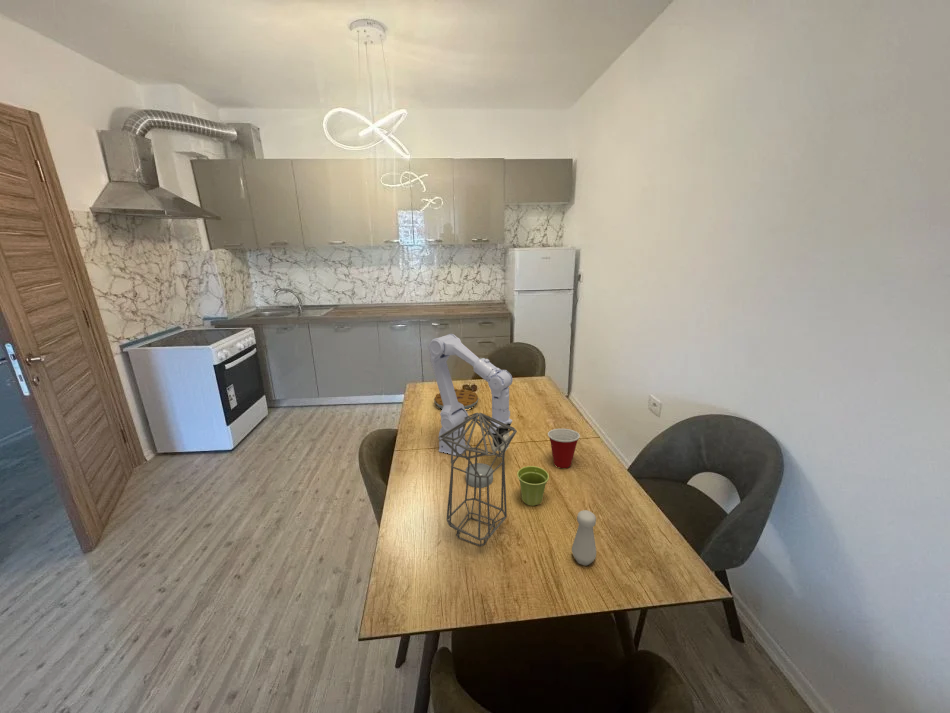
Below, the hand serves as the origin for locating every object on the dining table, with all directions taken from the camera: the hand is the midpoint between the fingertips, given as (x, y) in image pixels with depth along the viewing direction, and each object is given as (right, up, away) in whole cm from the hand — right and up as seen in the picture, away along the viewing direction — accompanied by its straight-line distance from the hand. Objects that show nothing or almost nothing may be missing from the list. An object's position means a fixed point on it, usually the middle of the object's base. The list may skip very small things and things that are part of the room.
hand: (500, 443), depth 131 cm
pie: (-18, +6, +56) cm, 59 cm away
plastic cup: (+22, -8, +3) cm, 24 cm away
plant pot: (+9, -14, -15) cm, 22 cm away
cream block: (0, -2, 0) cm, 2 cm away
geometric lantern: (-7, -18, -28) cm, 34 cm away
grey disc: (-7, -11, -5) cm, 14 cm away
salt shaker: (+18, -20, -38) cm, 46 cm away
